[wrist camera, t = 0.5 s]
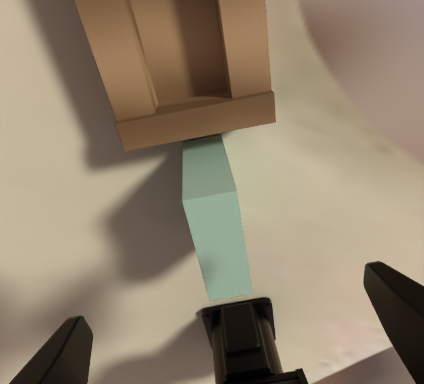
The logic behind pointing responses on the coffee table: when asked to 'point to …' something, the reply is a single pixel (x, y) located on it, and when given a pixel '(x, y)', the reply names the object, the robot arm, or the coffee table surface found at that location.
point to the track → (181, 66)
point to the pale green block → (215, 218)
